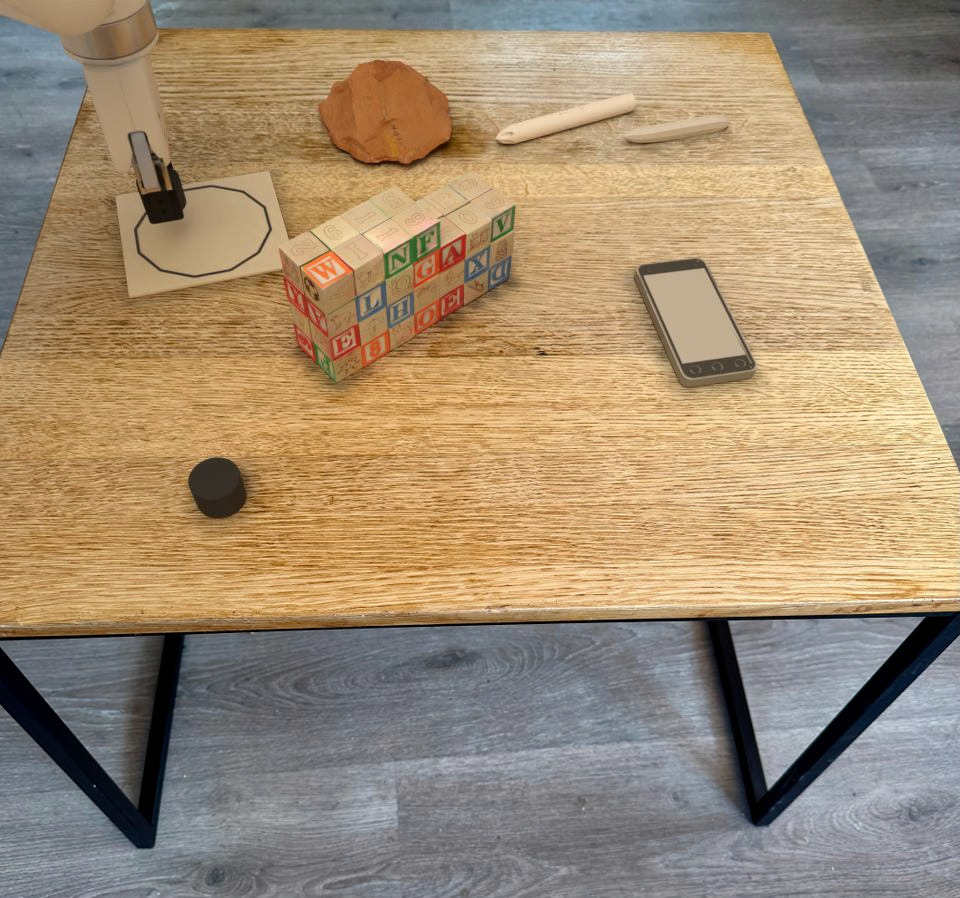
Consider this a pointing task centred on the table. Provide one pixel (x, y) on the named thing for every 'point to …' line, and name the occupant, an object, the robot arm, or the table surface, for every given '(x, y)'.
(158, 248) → the face card
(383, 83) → the stone
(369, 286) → the stack of blocks
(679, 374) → the smartphone
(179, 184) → the left eye dot
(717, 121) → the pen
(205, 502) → the right eye dot
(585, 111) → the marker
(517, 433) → the table surface
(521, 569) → the table surface
